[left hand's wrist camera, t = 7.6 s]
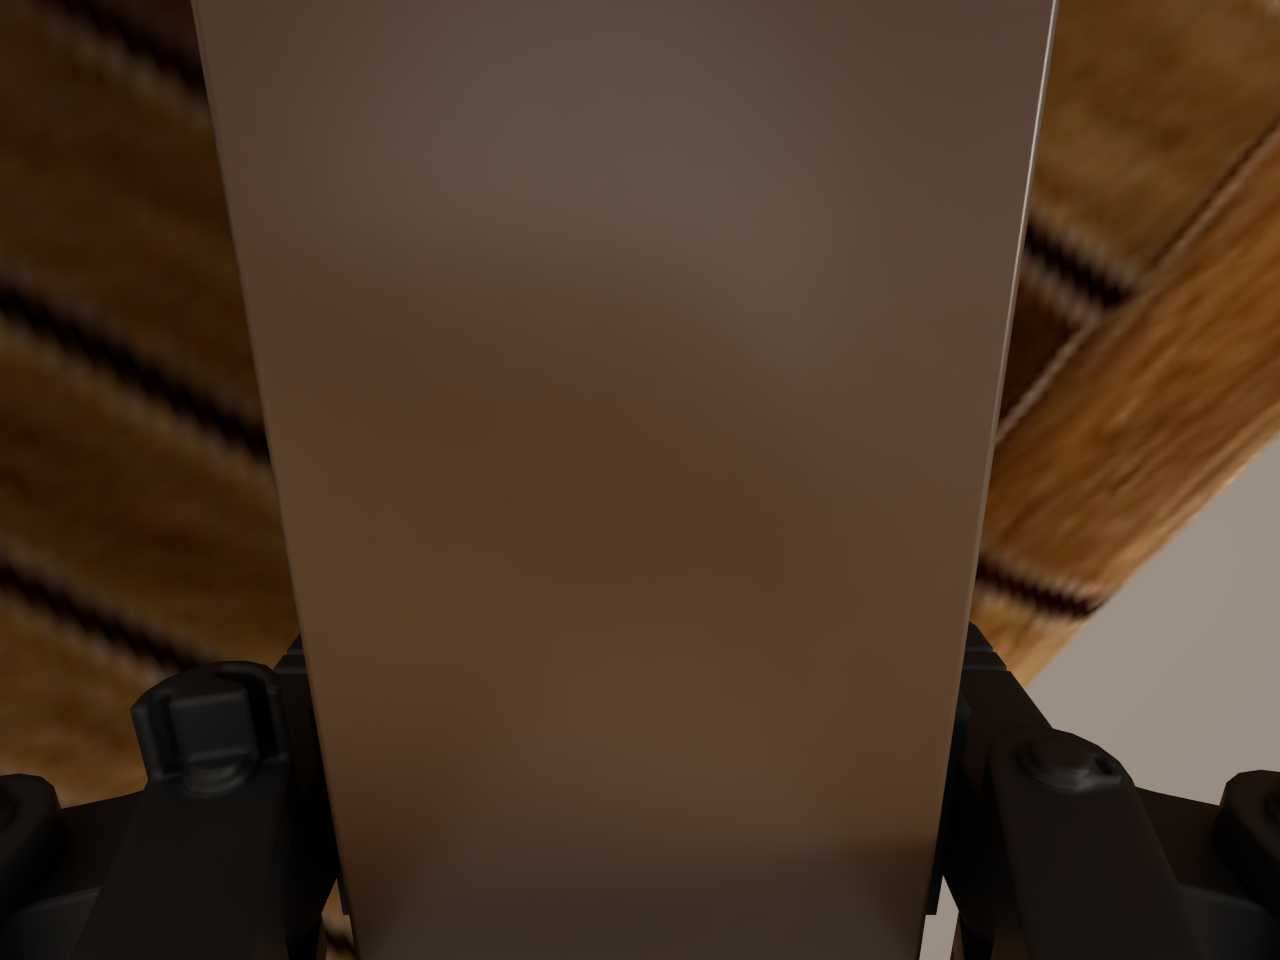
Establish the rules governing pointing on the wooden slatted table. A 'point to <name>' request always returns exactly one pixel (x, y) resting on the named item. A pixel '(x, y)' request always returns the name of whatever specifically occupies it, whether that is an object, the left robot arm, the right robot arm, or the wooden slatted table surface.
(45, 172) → the wooden slatted table surface
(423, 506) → the beam
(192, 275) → the wooden slatted table surface
